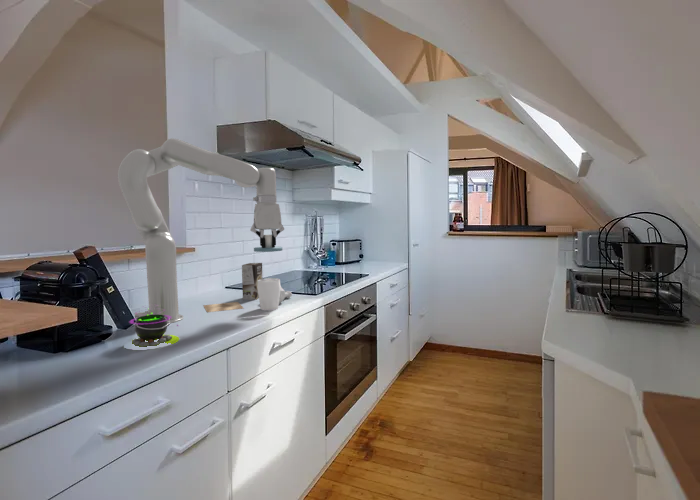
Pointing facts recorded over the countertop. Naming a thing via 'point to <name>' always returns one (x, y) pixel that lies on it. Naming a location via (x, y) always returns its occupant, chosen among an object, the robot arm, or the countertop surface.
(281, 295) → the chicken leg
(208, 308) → the board
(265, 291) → the cup
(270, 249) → the lid
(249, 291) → the coffee box
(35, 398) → the countertop surface
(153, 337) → the toy cauldron
